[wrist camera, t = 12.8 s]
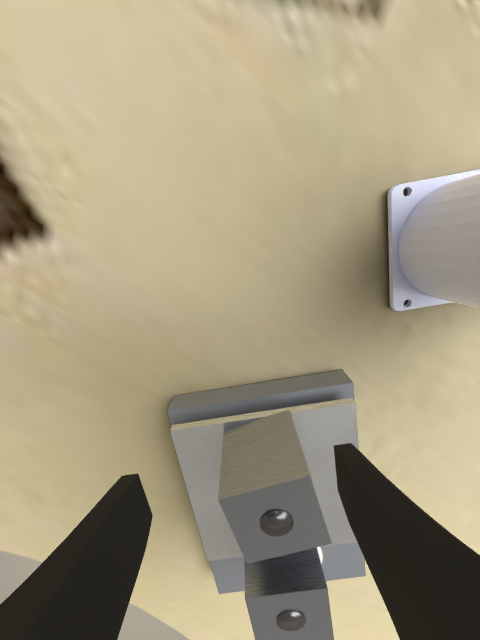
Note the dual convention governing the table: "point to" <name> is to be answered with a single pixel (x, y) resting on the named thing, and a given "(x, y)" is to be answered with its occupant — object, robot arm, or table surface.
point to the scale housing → (262, 398)
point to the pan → (318, 447)
